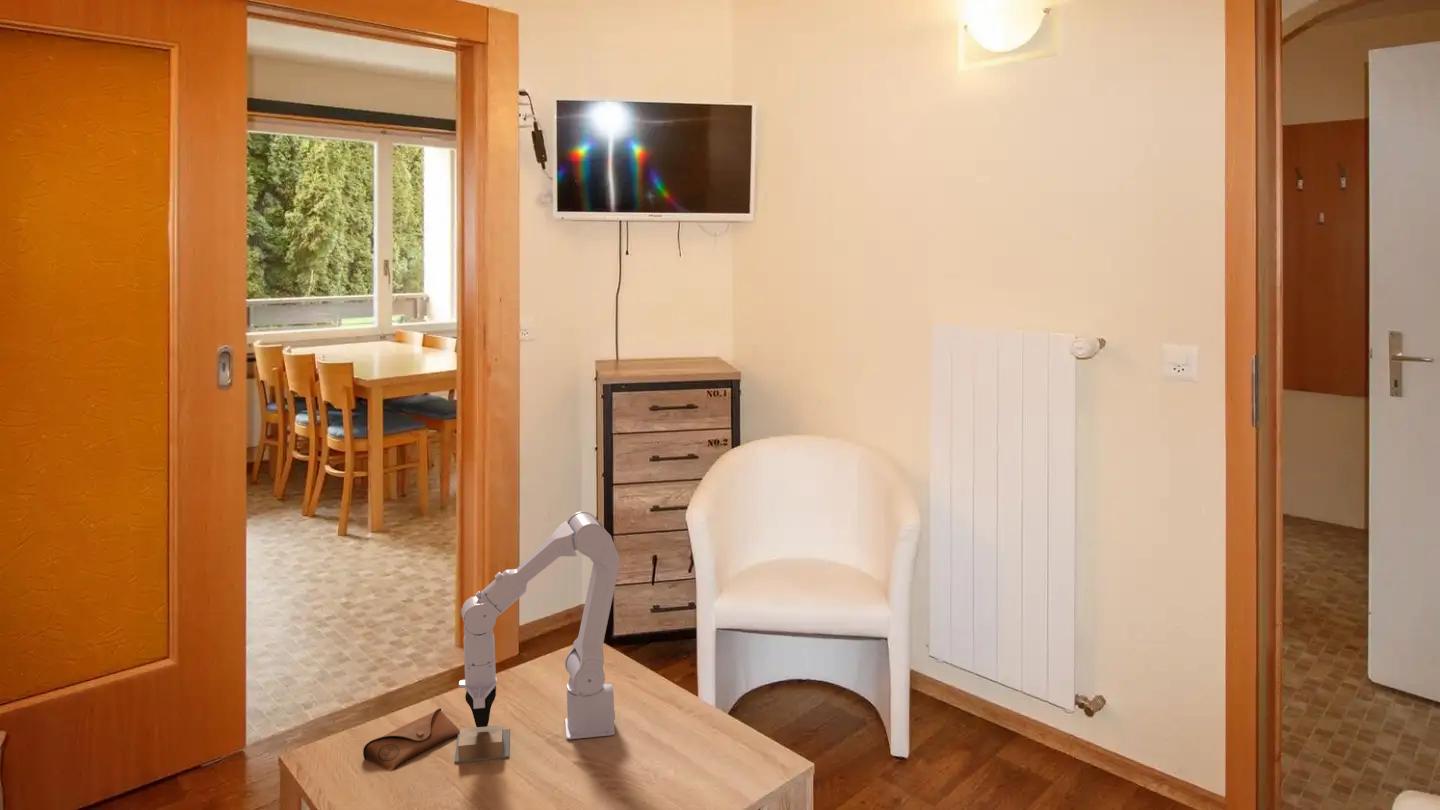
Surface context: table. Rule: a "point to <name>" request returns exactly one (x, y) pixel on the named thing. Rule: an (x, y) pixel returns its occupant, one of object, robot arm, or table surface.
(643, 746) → the table surface
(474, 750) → the brown rectangular block
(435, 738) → the sunglasses case
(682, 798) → the table surface
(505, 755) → the felt mat
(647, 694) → the table surface
